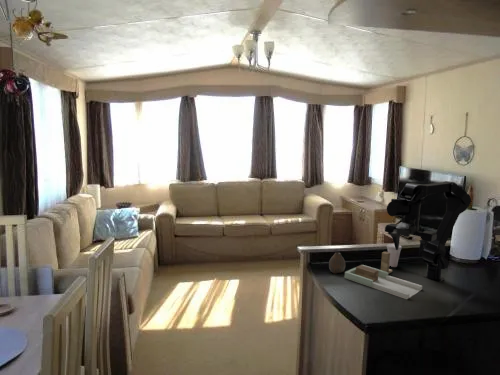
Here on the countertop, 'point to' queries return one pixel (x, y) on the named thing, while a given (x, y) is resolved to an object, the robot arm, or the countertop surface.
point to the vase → (337, 263)
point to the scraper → (385, 262)
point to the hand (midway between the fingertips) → (408, 252)
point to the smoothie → (393, 254)
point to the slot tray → (386, 283)
